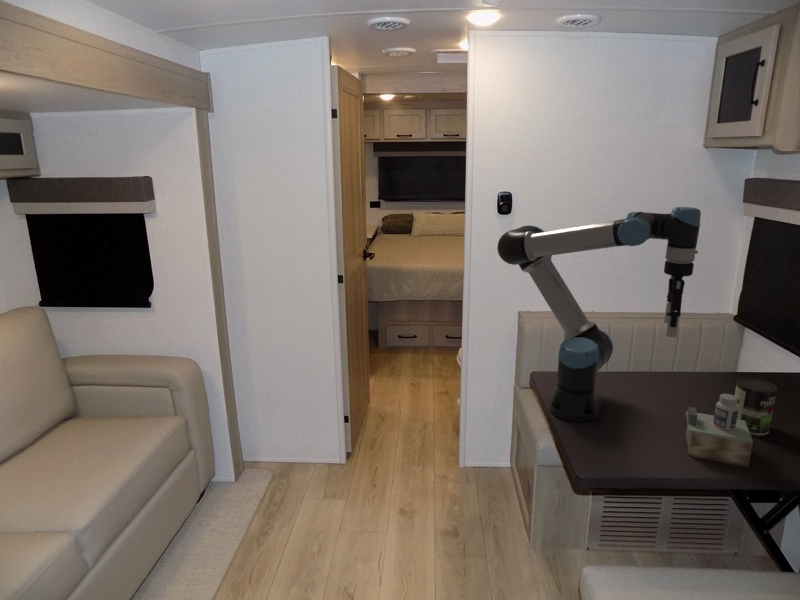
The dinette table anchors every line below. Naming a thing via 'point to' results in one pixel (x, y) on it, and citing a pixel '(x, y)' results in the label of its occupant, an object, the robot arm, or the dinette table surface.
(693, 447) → the box
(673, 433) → the dinette table surface
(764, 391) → the coffee can
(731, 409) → the pill bottle
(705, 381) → the dinette table surface
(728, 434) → the lid
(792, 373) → the dinette table surface
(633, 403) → the dinette table surface
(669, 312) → the robot arm
